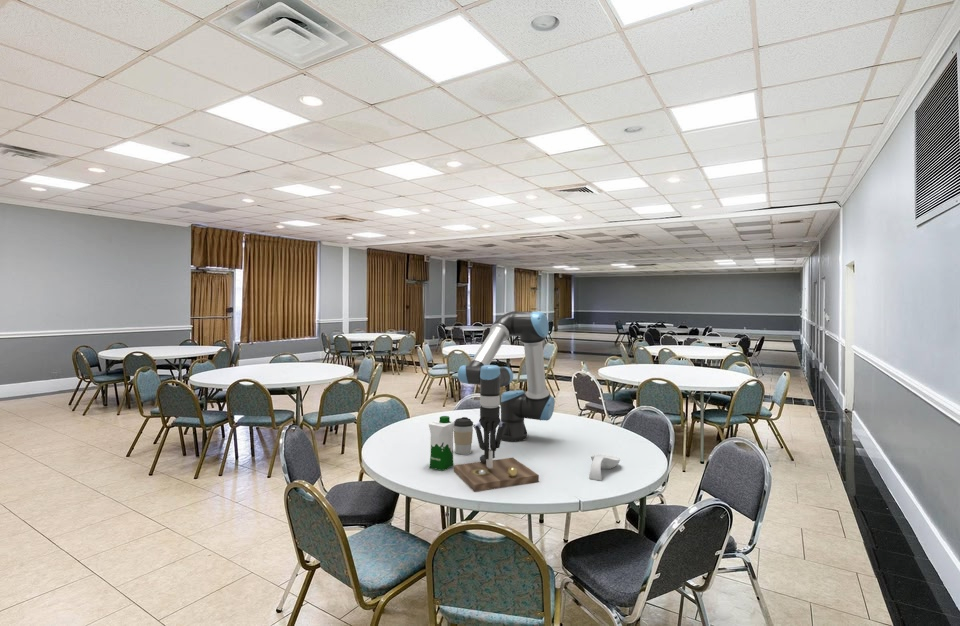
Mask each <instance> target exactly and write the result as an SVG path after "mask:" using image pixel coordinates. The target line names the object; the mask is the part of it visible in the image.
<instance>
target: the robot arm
mask: <svg viewBox="0 0 960 626" xmlns="http://www.w3.org/2000/svg"><path fill="white" fill-rule="evenodd" d="M549 329H550V326H549V321H548V317H547V316H546V314H545V313H544V312H543V311H542V312H541V311H535V310H533V311H532V310H531V311H528V310H527V311H520V310H519V311H516V310H515V311H514V310H512V311H509V312H506V313H504V314H503V315H501V316H500V317H498V318H497V319H496V320H495V321H494V322H493V323H492V325H491V326H490V328H489V333H488V335H487V336H486V338H485V339H484V341H483V343H482V344H481V345H480V347H479V349H478V350H477V352H476V353H475V355H474V356H473V358H472V360H471V361H470V362H469V363H468V365H467V364H463V365H460V366H459V368H458V371H457V378H458V381H459V382H460V383H462V384H467V385H478V386H480V387H479V388H480V389H479V391H480V394H479V405H480V407H479V417H480V418H479V419H478V422H477V423H476V424H473V428H474V430H475V433H476V437H477V438H476V439H477V442H478V447H479V449H481V450H482V451H484V454H483V455H484V458H485V459H486V466H487V467H488V468H493V460H494V459H495V458H496V455H495V454H496V451H497V449H500V447H501V442H502V441H504V442H524V441H526V440H527V439H528V430H527V428H526V427H527V426H526V425H525V419H529V420H537V421H546V422H547V421H550V420H551V418H552V416H553V415H554V414H553V413H554V410H555V402H556V401H555V397H553V396H552V395H550V390H549V389H547V385H546V384H547V383H546V373H545V361H544V359H545V358H544V349H543V348H544V347H543V343H544V341H545V340H546V337H548V335H549V333H550V331H549ZM510 337H519V339H520V343H522V344H523V349H524V358H525V367H526V368H525V371H526V381H527V391H526V392H525V391H524V390H523V389H522V390H519V389H518V390H517V389H516V390H509V391H504V392H502V393H501V392H500V390H501V389H500V388H502V387H507V386H508V385H509V384H511V382H513V379H514V374H513V371H512V370H511V368H509V367H507V366H499V365H495V364H491V363H492V362H493V360H494V358H495V357H496V354H497V353H498V351H499V350H500V348H501V347H502V345H503V343H504V342H505V341H508V339H509V338H510ZM500 393H501V395H500ZM481 429H483V434H482V430H481Z"/></svg>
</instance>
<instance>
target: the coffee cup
mask: <svg viewBox="0 0 960 626" xmlns="http://www.w3.org/2000/svg"><path fill="white" fill-rule="evenodd" d="M453 422H454V431H453V443H454V448H455V449H454V450H455V454H458V455H469V454H471V451H472V443H473V431H474V430H473V428H474V427H473V426H474V421H472V420H471V418H468V417H466V416H464V417H460V418H459V417H458V418H456V419H455V420H454V421H453Z"/></svg>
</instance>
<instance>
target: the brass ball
mask: <svg viewBox="0 0 960 626" xmlns="http://www.w3.org/2000/svg"><path fill="white" fill-rule="evenodd" d="M508 475H509V476H510V477H515V476H516V475H517V469H516V468H515V467H510V468H509V469H508Z"/></svg>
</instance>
